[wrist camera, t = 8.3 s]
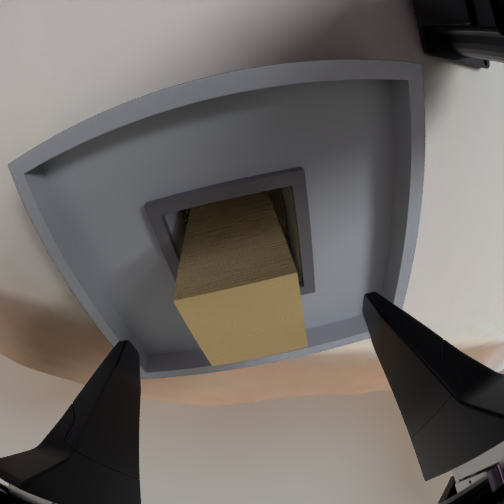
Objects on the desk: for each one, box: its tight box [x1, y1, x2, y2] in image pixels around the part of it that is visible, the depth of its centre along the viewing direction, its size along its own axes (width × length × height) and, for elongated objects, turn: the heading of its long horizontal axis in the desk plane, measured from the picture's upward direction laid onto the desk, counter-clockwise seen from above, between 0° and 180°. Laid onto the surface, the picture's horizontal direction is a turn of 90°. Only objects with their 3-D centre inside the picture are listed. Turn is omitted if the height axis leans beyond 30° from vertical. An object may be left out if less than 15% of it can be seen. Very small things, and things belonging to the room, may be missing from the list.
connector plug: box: [173, 191, 308, 366], centre depth 13 cm, size 4×4×8 cm
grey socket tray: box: [8, 60, 425, 379], centre depth 14 cm, size 18×16×4 cm
